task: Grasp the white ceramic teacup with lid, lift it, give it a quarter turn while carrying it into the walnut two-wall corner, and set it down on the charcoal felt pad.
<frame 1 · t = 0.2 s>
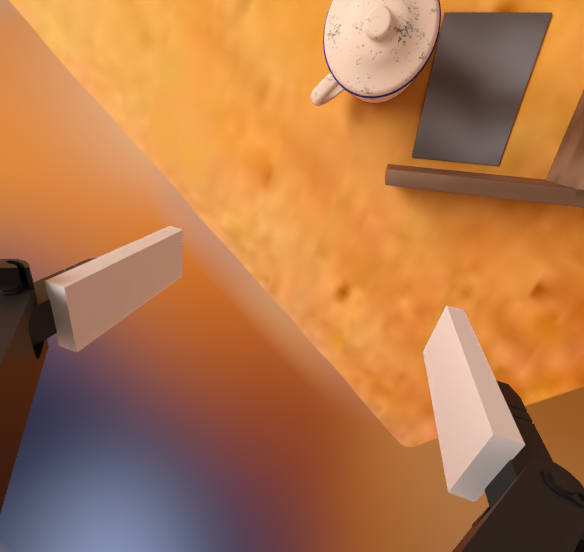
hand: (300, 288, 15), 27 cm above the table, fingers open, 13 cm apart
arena: (473, 127, 33), on the table
teacup with lid: (367, 67, 33), on the table
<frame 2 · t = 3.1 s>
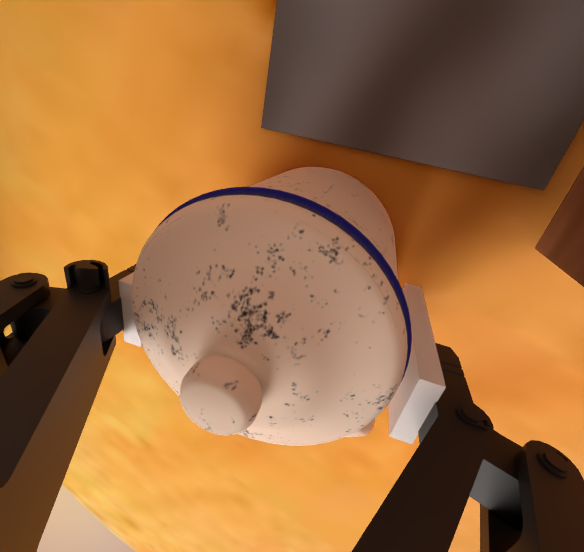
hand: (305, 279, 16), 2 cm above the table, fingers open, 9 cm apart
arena: (523, 17, 11), on the table
teacup with lid: (327, 267, 18), on the table, touching gripper
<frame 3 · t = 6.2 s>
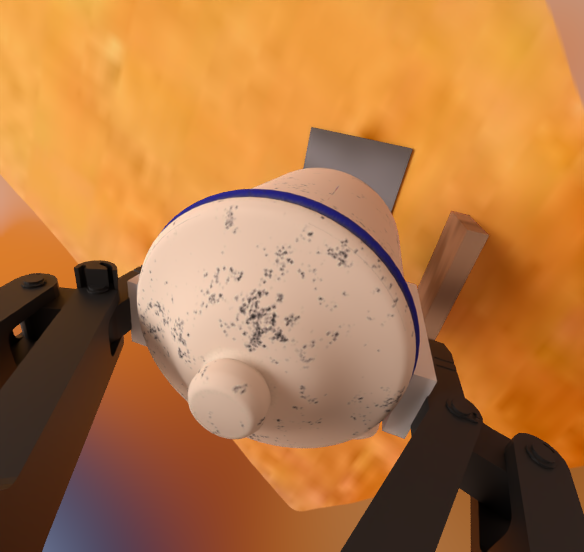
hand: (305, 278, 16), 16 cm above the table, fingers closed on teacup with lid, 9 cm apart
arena: (343, 240, 31), on the table
teacup with lid: (330, 268, 18), point 14 cm above the table, touching gripper
when the fingers open (4 cm above the table, at t = 9.2 s): teacup with lid drops 1 cm, resting on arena.
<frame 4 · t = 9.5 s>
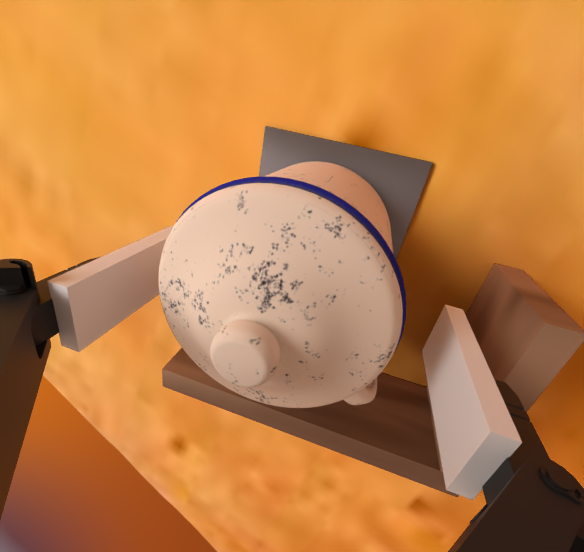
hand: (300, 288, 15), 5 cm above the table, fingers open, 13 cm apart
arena: (323, 298, 21), on the table
teacup with lid: (328, 254, 19), resting on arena
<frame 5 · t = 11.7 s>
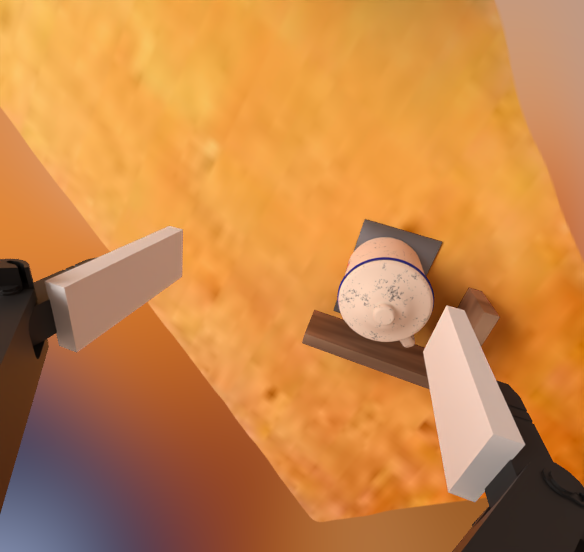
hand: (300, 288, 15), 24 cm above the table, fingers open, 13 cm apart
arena: (382, 301, 39), on the table
teacup with lid: (387, 279, 38), resting on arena
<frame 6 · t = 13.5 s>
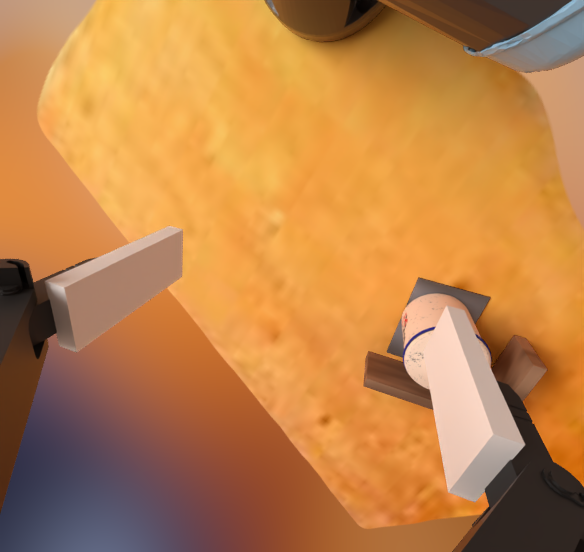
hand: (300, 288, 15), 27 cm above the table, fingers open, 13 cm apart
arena: (432, 345, 44), on the table
teacup with lid: (438, 327, 43), resting on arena
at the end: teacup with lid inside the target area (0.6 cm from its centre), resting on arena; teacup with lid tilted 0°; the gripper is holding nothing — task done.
